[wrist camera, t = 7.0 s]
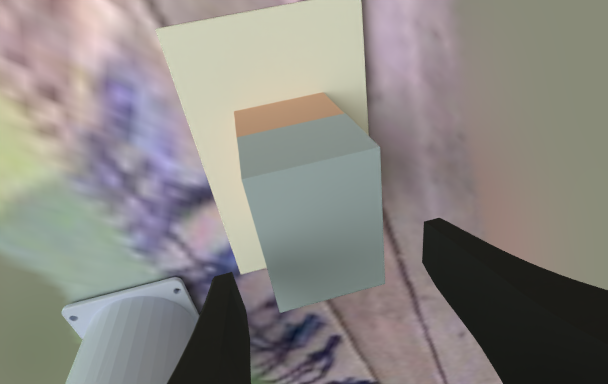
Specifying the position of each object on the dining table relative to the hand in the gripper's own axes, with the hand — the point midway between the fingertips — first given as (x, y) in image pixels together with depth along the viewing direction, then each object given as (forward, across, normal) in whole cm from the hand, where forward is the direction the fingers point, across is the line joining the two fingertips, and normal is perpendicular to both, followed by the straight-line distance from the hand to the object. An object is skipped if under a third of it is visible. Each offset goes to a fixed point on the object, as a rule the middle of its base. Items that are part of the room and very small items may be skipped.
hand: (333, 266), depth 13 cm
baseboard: (+10, 0, 0) cm, 10 cm away
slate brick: (+6, 0, 0) cm, 6 cm away
